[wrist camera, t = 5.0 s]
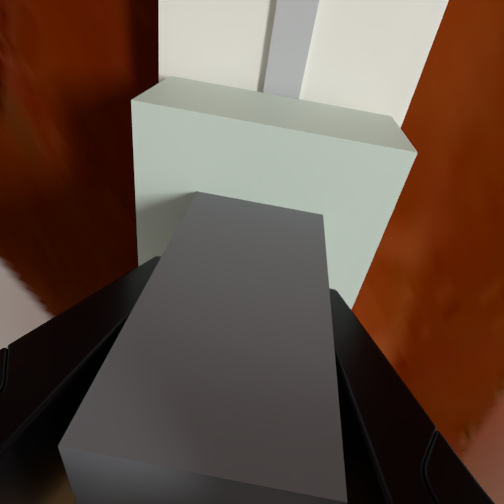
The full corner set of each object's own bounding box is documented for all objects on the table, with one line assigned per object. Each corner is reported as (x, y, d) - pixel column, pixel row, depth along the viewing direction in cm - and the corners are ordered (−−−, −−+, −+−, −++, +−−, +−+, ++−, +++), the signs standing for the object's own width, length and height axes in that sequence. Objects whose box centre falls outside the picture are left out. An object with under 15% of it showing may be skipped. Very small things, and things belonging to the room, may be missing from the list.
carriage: (330, 284, 13) (361, 622, 6) (168, 254, 13) (10, 553, 6) (391, 115, 10) (624, 441, 3) (170, 75, 10) (-179, 287, 3)
